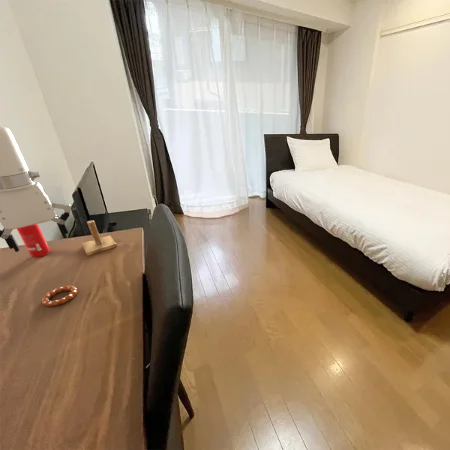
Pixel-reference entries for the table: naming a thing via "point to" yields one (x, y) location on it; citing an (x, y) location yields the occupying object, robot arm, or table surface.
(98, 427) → the table surface
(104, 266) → the table surface
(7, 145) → the robot arm
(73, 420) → the table surface
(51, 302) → the ring
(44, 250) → the beverage can
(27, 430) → the table surface
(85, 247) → the post
